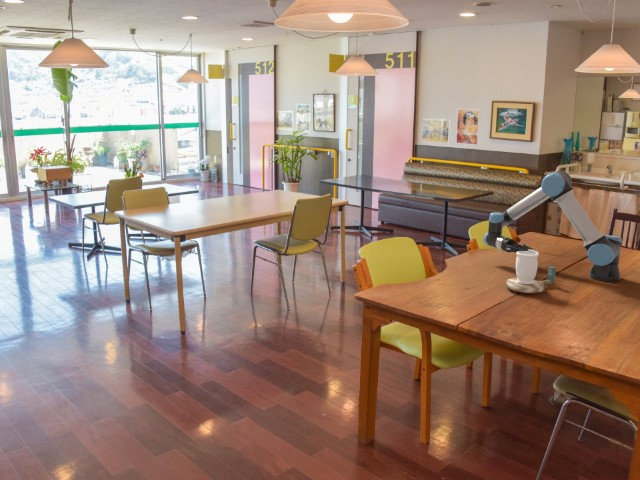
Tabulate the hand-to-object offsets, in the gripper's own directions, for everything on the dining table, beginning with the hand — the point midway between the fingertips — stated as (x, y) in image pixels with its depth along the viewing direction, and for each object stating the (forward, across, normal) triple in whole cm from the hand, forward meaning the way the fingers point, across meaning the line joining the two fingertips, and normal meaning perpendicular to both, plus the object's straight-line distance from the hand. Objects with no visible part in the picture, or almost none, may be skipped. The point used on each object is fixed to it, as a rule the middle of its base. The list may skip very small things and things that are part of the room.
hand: (537, 254), depth 314 cm
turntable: (+10, +12, -12) cm, 20 cm away
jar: (+10, +17, -10) cm, 22 cm away
